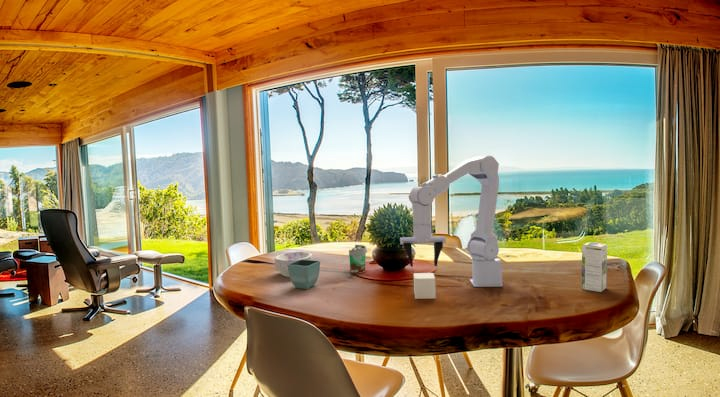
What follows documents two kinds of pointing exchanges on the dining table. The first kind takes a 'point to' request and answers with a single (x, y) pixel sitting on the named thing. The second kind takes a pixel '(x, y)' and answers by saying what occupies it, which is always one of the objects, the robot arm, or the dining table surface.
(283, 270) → the paper bowls
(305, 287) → the flower pot
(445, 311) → the dining table surface
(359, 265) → the food container
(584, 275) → the syrup box
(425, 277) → the white cube block
